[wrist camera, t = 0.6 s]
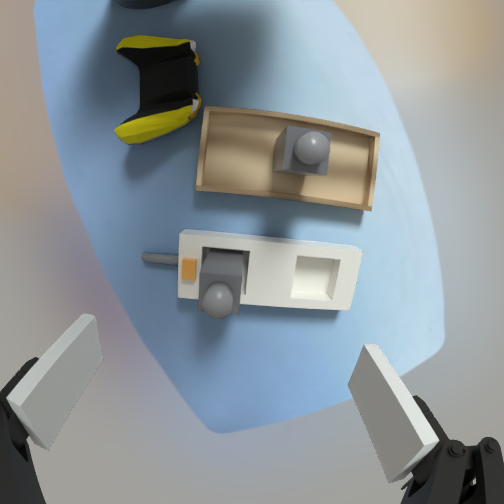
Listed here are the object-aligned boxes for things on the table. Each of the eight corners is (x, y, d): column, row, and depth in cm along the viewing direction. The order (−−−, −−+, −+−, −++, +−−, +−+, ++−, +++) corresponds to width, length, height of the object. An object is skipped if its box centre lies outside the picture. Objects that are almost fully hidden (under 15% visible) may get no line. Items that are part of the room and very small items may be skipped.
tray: (207, 110, 30) (204, 105, 28) (372, 135, 31) (379, 133, 29) (198, 189, 33) (195, 190, 30) (364, 209, 34) (371, 211, 32)
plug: (276, 138, 31) (292, 119, 20) (308, 143, 31) (340, 128, 20) (272, 171, 32) (287, 168, 21) (305, 175, 32) (335, 175, 21)
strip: (143, 225, 34) (132, 231, 30) (353, 245, 35) (365, 253, 31) (143, 283, 36) (134, 294, 32) (342, 300, 37) (351, 312, 33)
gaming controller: (130, 149, 31) (205, 136, 31) (111, 146, 26) (198, 129, 26) (129, 51, 27) (199, 35, 27) (113, 36, 22) (193, 16, 22)
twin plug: (210, 247, 34) (194, 281, 23) (243, 250, 34) (242, 286, 23) (208, 278, 35) (194, 322, 24) (240, 281, 35) (238, 327, 24)
